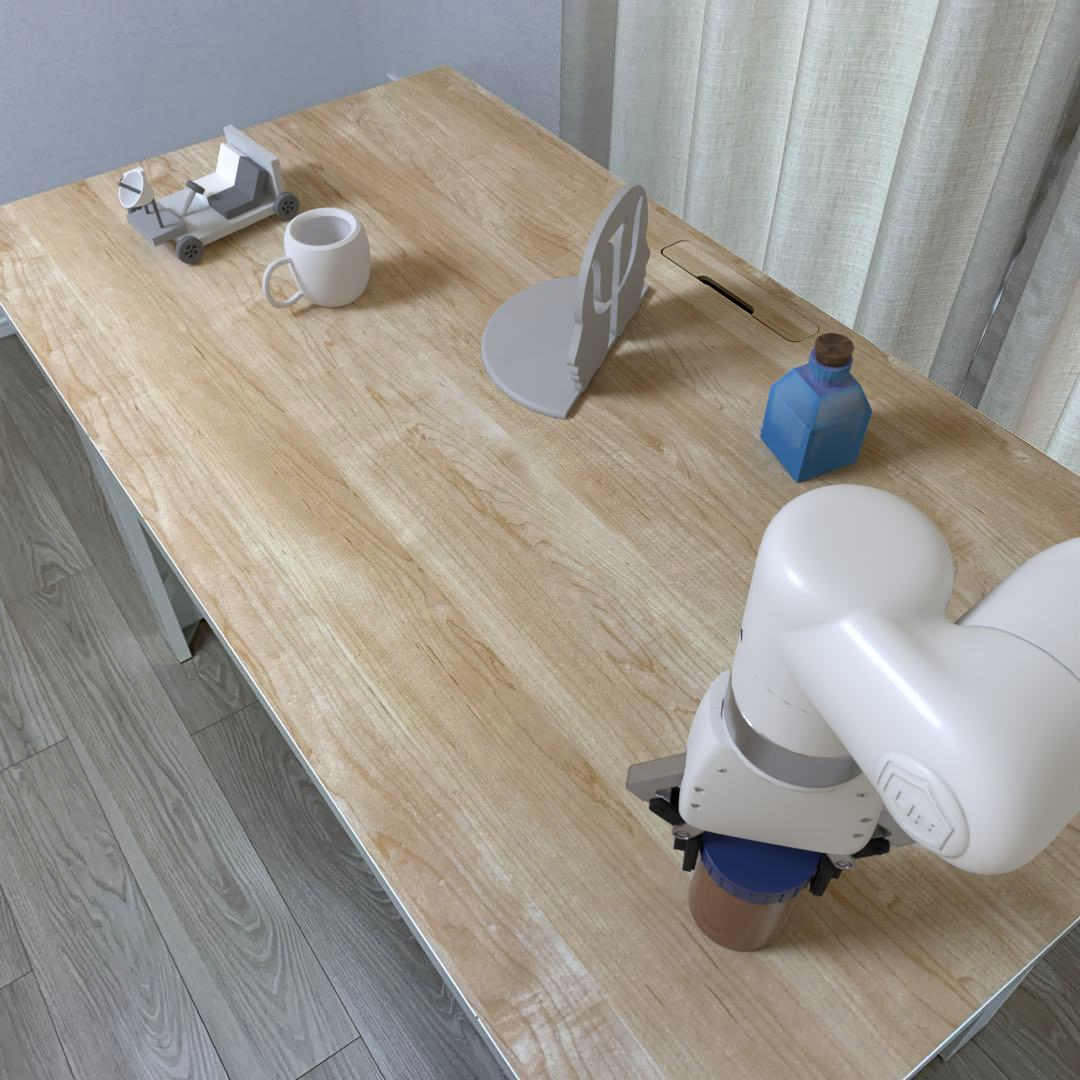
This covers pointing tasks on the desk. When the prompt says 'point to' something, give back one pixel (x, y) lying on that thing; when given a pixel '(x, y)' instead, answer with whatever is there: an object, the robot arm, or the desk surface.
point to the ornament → (572, 314)
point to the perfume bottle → (817, 412)
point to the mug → (324, 258)
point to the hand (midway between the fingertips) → (753, 859)
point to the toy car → (210, 199)
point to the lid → (757, 868)
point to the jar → (734, 915)
